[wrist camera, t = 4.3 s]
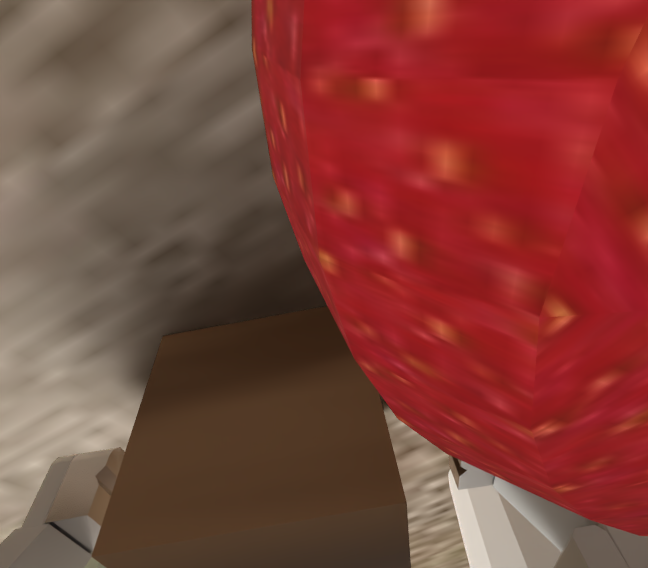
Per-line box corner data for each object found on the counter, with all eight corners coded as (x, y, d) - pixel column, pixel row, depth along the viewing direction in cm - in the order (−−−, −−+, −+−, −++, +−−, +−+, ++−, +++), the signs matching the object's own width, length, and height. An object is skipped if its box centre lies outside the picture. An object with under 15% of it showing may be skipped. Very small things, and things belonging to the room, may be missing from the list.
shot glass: (411, 452, 15) (493, 739, 9) (603, 389, 13) (836, 676, 8) (454, 519, 19) (529, 748, 13) (605, 475, 17) (761, 707, 12)
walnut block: (163, 333, 10) (91, 556, 6) (355, 298, 10) (406, 502, 6) (223, 439, 13) (201, 635, 9) (371, 413, 13) (412, 599, 9)
